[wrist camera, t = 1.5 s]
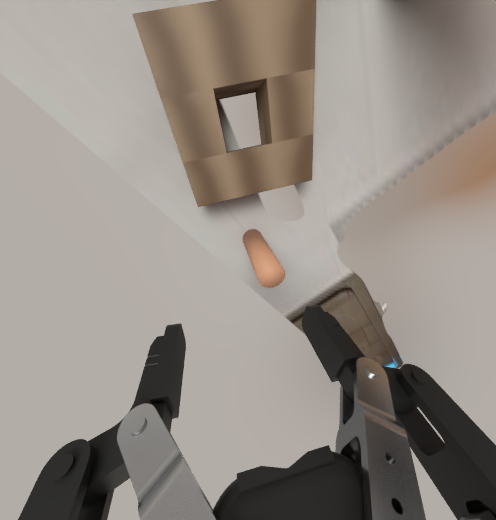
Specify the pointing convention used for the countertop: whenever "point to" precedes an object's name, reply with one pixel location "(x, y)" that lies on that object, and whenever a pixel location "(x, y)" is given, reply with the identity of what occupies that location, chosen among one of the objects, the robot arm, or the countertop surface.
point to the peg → (263, 259)
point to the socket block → (236, 89)
